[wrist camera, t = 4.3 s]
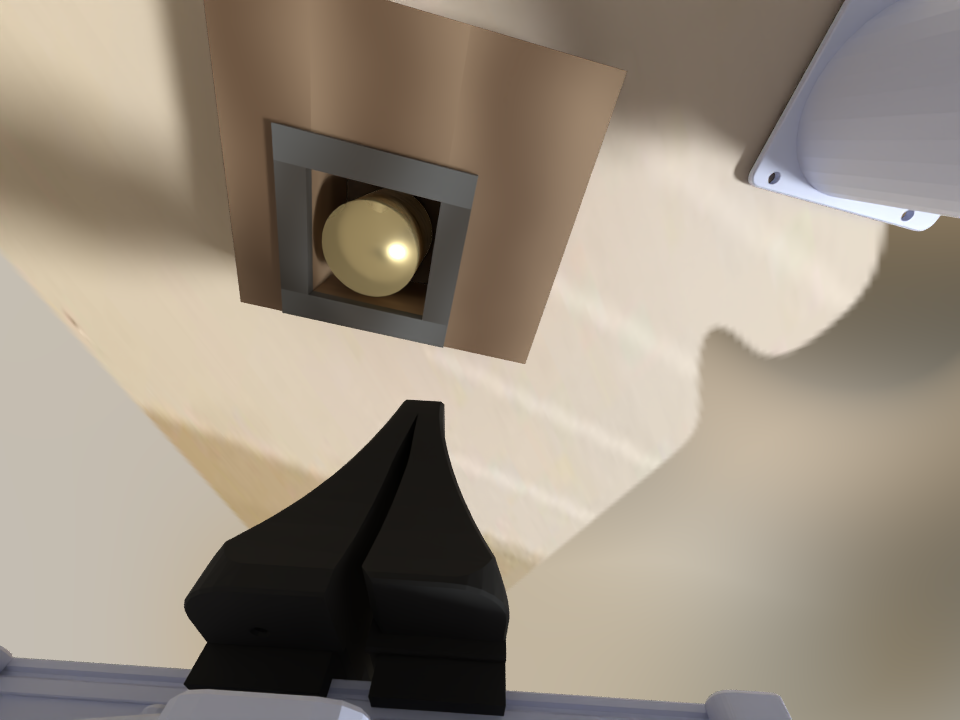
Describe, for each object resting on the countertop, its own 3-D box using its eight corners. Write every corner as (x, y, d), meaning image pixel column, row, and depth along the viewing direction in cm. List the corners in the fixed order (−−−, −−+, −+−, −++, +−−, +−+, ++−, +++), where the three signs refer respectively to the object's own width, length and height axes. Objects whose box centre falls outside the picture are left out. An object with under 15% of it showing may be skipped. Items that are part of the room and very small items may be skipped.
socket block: (598, 86, 16) (631, 68, 12) (520, 329, 22) (525, 369, 18) (267, -10, 15) (184, -64, 11) (283, 275, 21) (234, 306, 17)
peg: (438, 199, 18) (423, 214, 14) (426, 275, 20) (410, 305, 16) (357, 179, 18) (321, 188, 14) (353, 258, 20) (321, 285, 16)
